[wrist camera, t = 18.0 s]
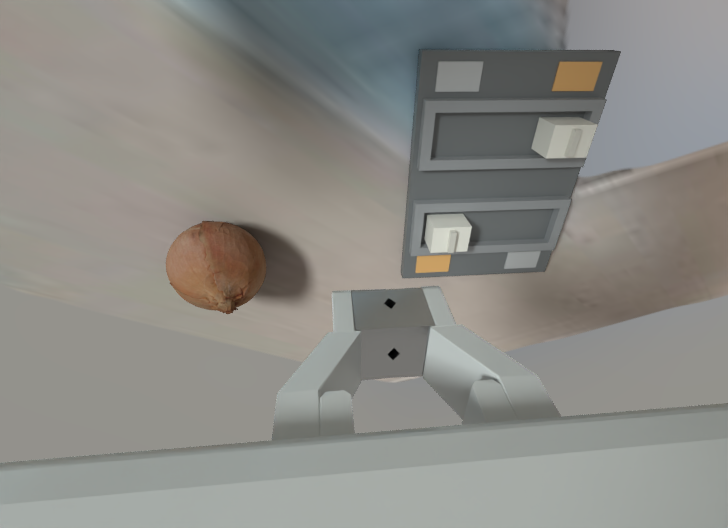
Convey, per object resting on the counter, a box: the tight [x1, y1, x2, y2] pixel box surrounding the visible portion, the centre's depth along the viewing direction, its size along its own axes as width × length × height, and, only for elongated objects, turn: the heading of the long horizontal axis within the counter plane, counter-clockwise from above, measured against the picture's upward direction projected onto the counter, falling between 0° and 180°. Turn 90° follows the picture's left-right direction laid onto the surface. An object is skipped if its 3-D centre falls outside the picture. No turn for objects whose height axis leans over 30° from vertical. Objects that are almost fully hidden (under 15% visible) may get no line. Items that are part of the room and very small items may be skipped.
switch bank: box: [401, 49, 621, 278], centre depth 40 cm, size 24×18×2 cm
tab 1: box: [424, 214, 472, 253], centre depth 40 cm, size 3×4×4 cm
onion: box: [166, 221, 266, 314], centre depth 38 cm, size 10×9×10 cm
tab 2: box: [531, 117, 598, 158], centre depth 35 cm, size 3×4×4 cm
